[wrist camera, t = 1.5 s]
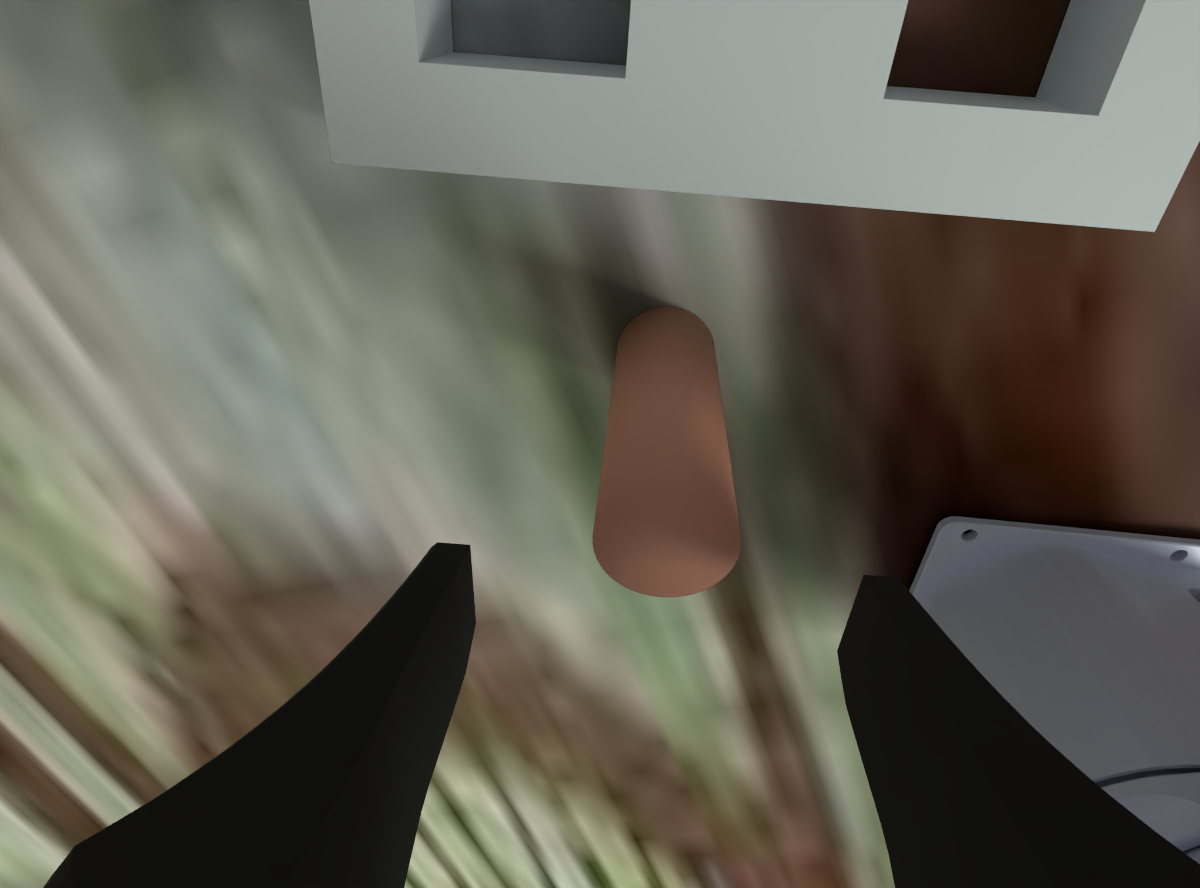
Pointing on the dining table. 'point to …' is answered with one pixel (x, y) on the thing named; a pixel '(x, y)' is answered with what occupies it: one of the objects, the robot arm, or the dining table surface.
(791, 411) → the dining table surface
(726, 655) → the dining table surface
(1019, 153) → the hole block
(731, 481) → the peg
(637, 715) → the dining table surface
